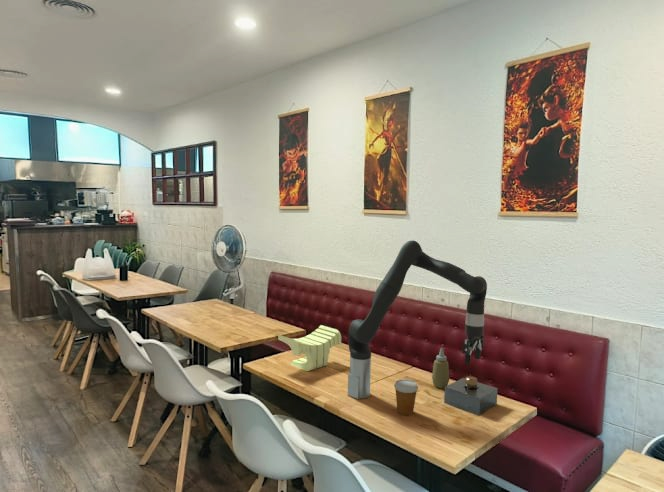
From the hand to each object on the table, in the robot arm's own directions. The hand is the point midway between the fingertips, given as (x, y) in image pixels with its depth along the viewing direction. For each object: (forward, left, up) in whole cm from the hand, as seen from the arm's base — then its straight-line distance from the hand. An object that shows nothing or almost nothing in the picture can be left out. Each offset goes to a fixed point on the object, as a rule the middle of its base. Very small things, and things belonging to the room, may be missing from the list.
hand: (472, 361), depth 185 cm
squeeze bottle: (+7, +19, -19) cm, 28 cm away
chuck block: (0, 0, -19) cm, 19 cm away
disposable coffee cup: (-28, +14, -19) cm, 36 cm away
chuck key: (0, 0, -19) cm, 19 cm away
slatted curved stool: (-21, +80, -19) cm, 85 cm away
